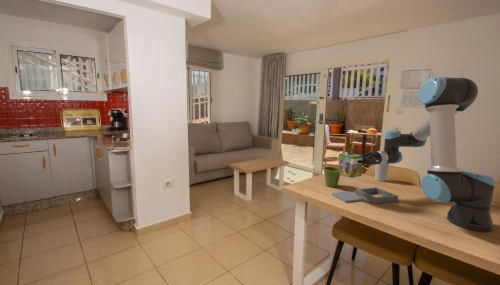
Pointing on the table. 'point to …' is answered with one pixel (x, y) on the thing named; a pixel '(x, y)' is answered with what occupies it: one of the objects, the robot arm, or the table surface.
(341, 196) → the pad
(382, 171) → the coffee cup
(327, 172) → the plant pot
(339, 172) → the chalk box
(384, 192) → the collar
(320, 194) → the table surface
